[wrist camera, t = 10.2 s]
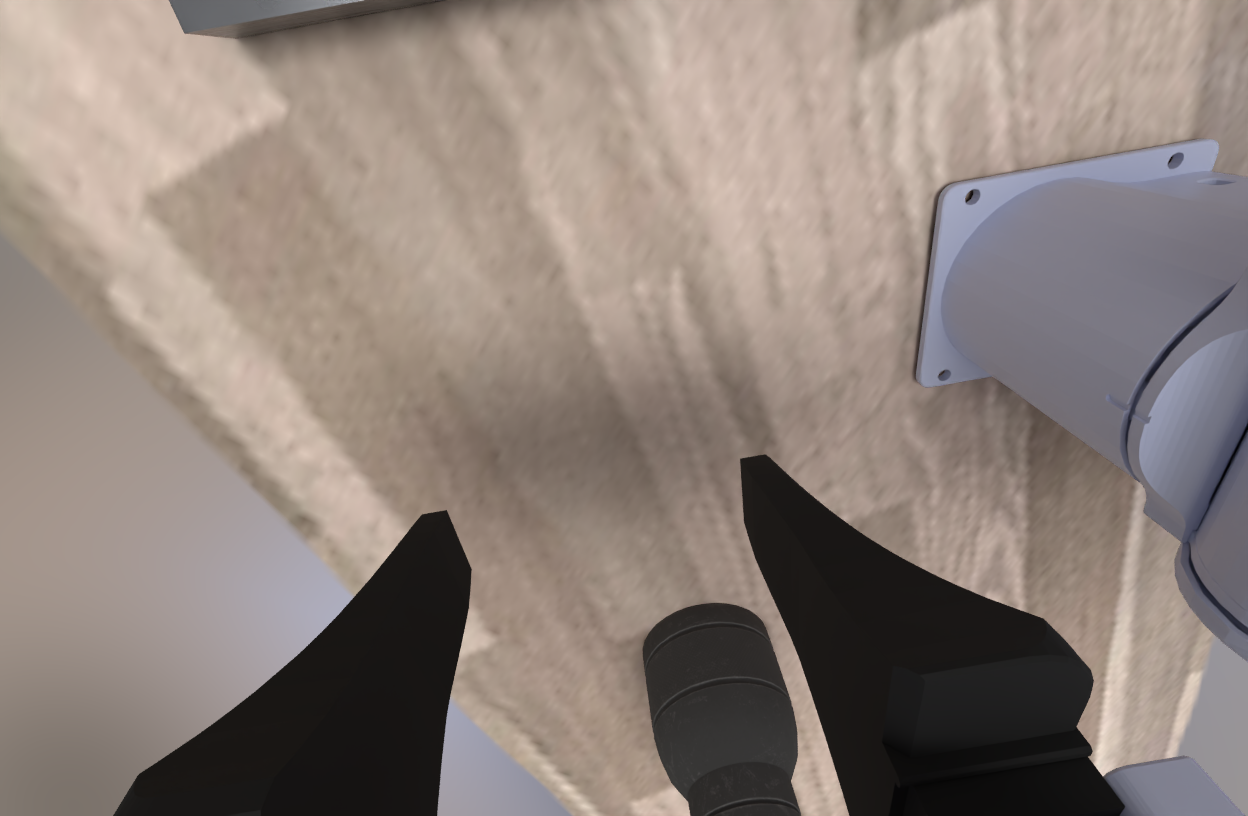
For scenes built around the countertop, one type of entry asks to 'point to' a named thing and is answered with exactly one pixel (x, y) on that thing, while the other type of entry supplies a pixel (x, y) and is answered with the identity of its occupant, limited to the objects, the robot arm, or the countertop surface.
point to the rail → (271, 14)
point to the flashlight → (722, 712)
